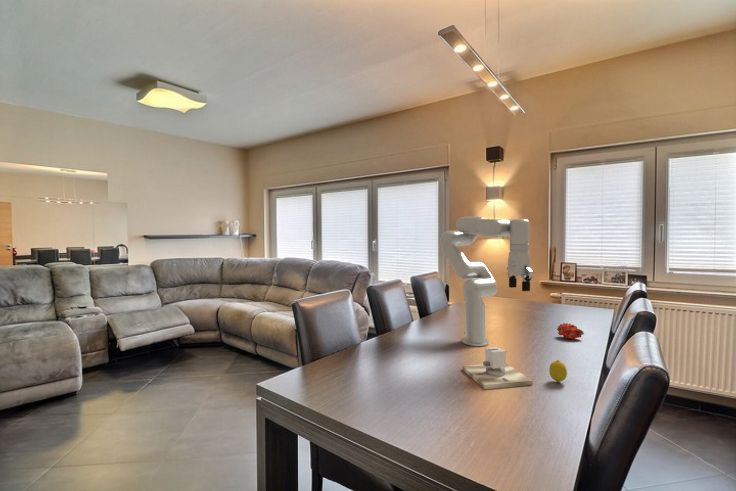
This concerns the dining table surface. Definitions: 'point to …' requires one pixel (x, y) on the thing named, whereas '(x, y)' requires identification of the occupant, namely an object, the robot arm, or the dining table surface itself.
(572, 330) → the dragon fruit
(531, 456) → the dining table surface
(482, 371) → the base
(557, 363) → the lemon
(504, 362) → the white box
